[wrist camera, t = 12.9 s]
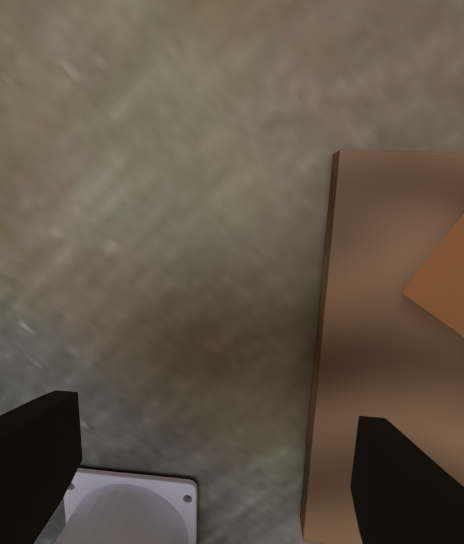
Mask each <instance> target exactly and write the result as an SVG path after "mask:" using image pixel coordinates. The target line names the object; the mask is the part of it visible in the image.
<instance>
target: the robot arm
mask: <svg viewBox="0 0 464 544" xmlns="http://www.w3.org/2000/svg"><path fill="white" fill-rule="evenodd" d="M81 461H82V448H81V434H80V419H79V404H78V392H68V391H53V392H50V393H48V394H45V395H43V396H41V397H38V398H36V399H34V400H32V401H30V402H28V403H25V404H23V405H21V406H19V407H17V408H15V409H13V410H11V411H9V412H7V413H5V414H3V415H1V416H0V544H33V543H34V542H35V540H36V539H37V537H38V536H39V534H40V533H41V531H42V530H43V528H44V527H45V525H46V524H47V522H48V521H49V519H50V518H51V516H52V515H53V513H54V512H55V510H56V508H57V507H58V505H59V504H60V502H61V501H62V499H63V497H64V507H65V519H66V525H65V527H64V528H63V530H62V532H61V533H60V535H59V537H58V538H57V540H56V542H55V543H54V544H197V484H196V483H195V482H194V481H193V480H190V479H181V478H171V477H161V476H152V475H142V474H132V473H122V472H112V471H102V470H93V469H83V468H79V466H80V463H81ZM71 483H72V484H71ZM73 484H74V485H73ZM350 488H351V493H352V498H353V504H354V509H355V514H356V518H357V523H358V528H359V533H360V536H361V539H362V543H363V544H464V487H463V486H462V485H461V484H460V483H458V482H457V481H456V480H455V479H454V478H453V477H451V476H450V475H449V474H448V473H447V472H446V471H445V470H443V469H442V468H441V467H440V466H439V465H438V464H437V463H435V462H434V461H433V460H432V459H431V458H430V457H429V456H428V455H426V454H425V453H424V452H423V451H422V450H421V449H420V448H419V447H417V446H416V445H415V444H414V443H413V442H412V441H411V440H410V439H409V438H407V437H406V436H405V435H404V434H403V433H402V432H401V431H400V430H399V429H397V428H396V427H395V426H394V425H393V424H392V423H390V422H389V421H388V420H387V419H385V418H380V417H368V416H359V420H358V428H357V436H356V444H355V452H354V460H353V468H352V476H351V484H350ZM186 495H189V496H191V497H187V496H186Z"/></svg>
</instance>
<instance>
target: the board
mask: <svg viewBox="0 0 464 544" xmlns="http://www.w3.org/2000/svg"><path fill="white" fill-rule="evenodd" d="M463 214H464V153H437V152H393V151H349V150H340V151H338V152H336V153H335V154H333V161H332V172H331V183H330V194H329V205H328V216H327V227H326V238H325V249H324V260H323V271H322V282H321V293H320V304H319V316H318V327H317V338H316V349H315V360H314V371H313V382H312V393H311V404H310V415H309V426H308V437H307V448H306V459H305V470H304V481H303V492H302V503H301V514H300V519H301V528H302V537H303V541H304V542H313V543H322V544H363V543H362V539H361V536H360V533H359V528H358V523H357V518H356V514H355V509H354V504H353V498H352V493H351V488H350V484H351V476H352V468H353V460H354V452H355V444H356V436H357V428H358V420H359V416H368V417H380V418H385V419H387V420H388V421H389V422H390V423H392V424H393V425H394V426H395V427H396V428H397V429H399V430H400V431H401V432H402V433H403V434H404V435H405V436H406V437H407V438H409V439H410V440H411V441H412V442H413V443H414V444H415V445H416V446H417V447H419V448H420V449H421V450H422V451H423V452H424V453H425V454H426V455H428V456H429V457H430V458H431V459H432V460H433V461H434V462H435V463H437V464H438V465H439V466H440V467H441V468H442V469H443V470H445V471H446V472H447V473H448V474H449V475H450V476H451V477H453V478H454V479H455V480H456V481H457V482H458V483H460V484H461V485H462V486H463V487H464V337H463V336H462V335H461V334H459V333H458V332H456V331H455V330H453V329H452V328H451V327H449V326H448V325H446V324H445V323H444V322H442V321H441V320H439V319H438V318H436V317H435V316H434V315H432V314H431V313H429V312H428V311H427V310H425V309H424V308H422V307H421V306H419V305H418V304H417V303H415V302H414V301H412V300H411V299H410V298H408V297H407V296H405V295H404V294H402V293H401V291H402V290H403V289H404V288H405V286H406V285H407V284H408V283H409V281H410V280H411V279H412V278H413V276H414V275H415V274H416V273H417V271H418V270H419V269H420V268H421V266H422V265H423V264H424V263H425V261H426V260H427V259H428V258H429V256H430V255H431V254H432V253H433V251H434V250H435V249H436V248H437V246H438V245H439V244H440V243H441V241H442V240H443V239H444V238H445V236H446V235H447V234H448V232H449V231H450V230H451V229H452V227H453V226H454V225H455V224H456V222H457V221H458V220H459V219H460V217H461V216H462V215H463Z"/></svg>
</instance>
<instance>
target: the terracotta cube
mask: <svg viewBox="0 0 464 544" xmlns="http://www.w3.org/2000/svg"><path fill="white" fill-rule="evenodd" d="M401 293H402V294H404V295H405V296H407V297H408V298H410V299H411V300H412V301H414V302H415V303H417V304H418V305H419V306H421V307H422V308H424V309H425V310H427V311H428V312H429V313H431V314H432V315H434V316H435V317H436V318H438V319H439V320H441V321H442V322H444V323H445V324H446V325H448V326H449V327H451V328H452V329H453V330H455V331H456V332H458V333H459V334H461V335H462V336H463V337H464V214H463V215H462V216H461V217H460V219H459V220H458V221H457V222H456V224H455V225H454V226H453V227H452V229H451V230H450V231H449V232H448V234H447V235H446V236H445V238H444V239H443V240H442V241H441V243H440V244H439V245H438V246H437V248H436V249H435V250H434V251H433V253H432V254H431V255H430V256H429V258H428V259H427V260H426V261H425V263H424V264H423V265H422V266H421V268H420V269H419V270H418V271H417V273H416V274H415V275H414V276H413V278H412V279H411V280H410V281H409V283H408V284H407V285H406V286H405V288H404V289H403V290H402V291H401Z"/></svg>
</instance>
